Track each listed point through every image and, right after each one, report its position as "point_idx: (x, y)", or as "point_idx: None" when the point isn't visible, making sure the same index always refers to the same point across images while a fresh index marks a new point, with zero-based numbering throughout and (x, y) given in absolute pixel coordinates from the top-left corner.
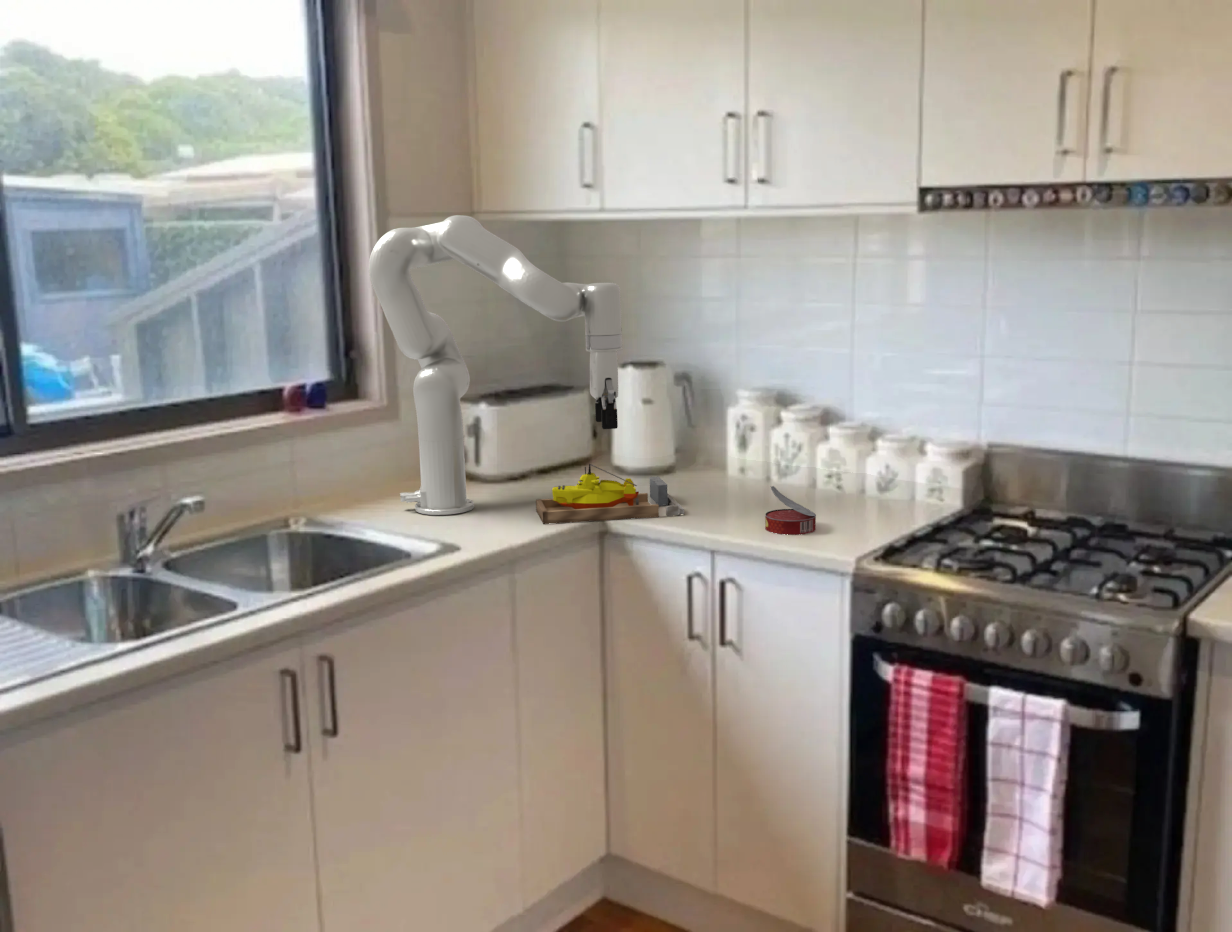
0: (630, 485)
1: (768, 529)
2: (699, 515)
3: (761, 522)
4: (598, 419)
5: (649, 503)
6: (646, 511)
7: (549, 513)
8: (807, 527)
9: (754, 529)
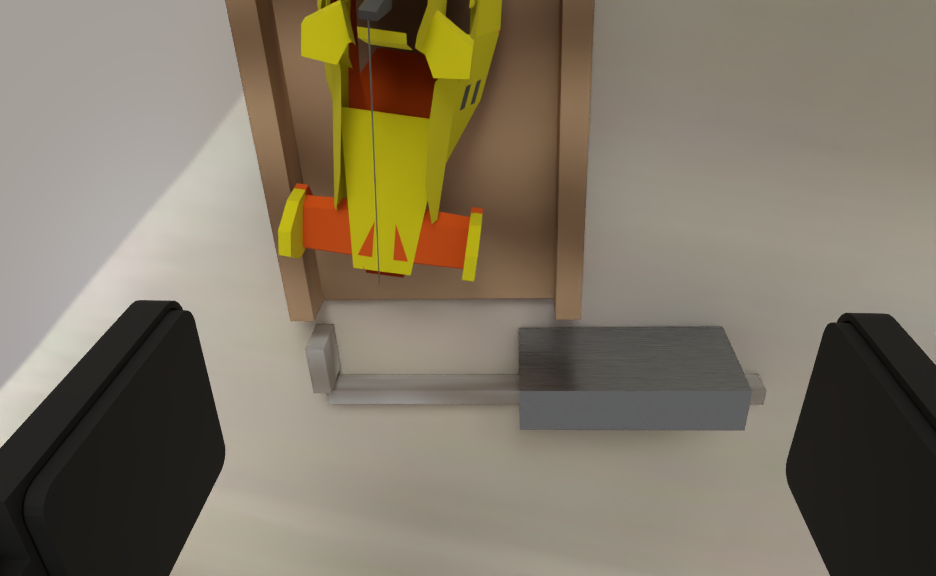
0: (279, 248)
1: None
2: (318, 432)
3: (196, 566)
4: (833, 357)
5: (511, 297)
6: None
7: None
8: None
9: None
